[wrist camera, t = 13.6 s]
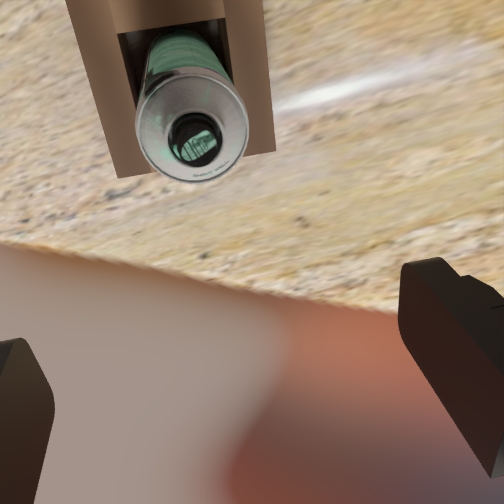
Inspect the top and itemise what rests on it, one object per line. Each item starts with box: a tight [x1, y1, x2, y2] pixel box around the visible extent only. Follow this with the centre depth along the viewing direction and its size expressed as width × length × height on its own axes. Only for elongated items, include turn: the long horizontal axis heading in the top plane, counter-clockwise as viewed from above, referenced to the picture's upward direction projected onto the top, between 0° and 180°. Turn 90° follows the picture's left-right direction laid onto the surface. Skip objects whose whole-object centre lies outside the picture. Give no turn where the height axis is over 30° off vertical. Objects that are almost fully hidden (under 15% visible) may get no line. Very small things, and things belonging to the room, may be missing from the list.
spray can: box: [135, 28, 249, 184], centre depth 28 cm, size 6×6×20 cm
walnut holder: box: [65, 0, 276, 178], centre depth 34 cm, size 12×12×6 cm
